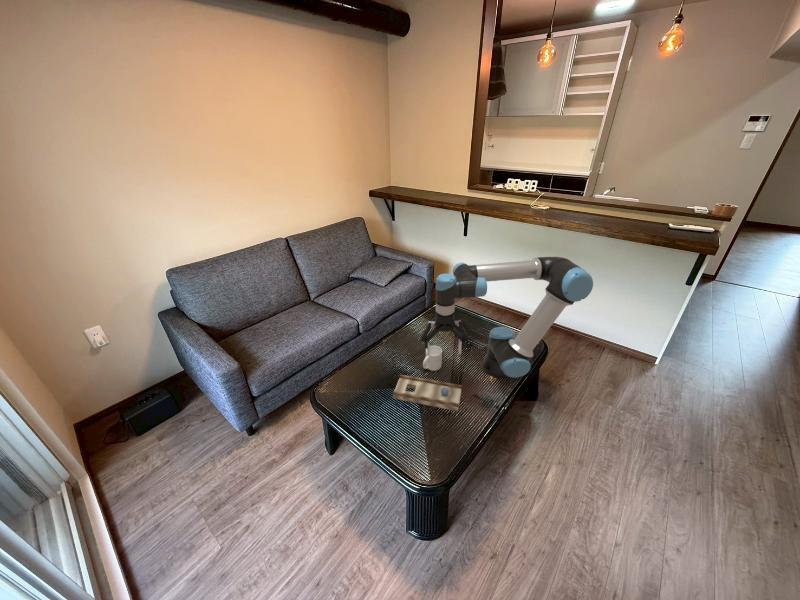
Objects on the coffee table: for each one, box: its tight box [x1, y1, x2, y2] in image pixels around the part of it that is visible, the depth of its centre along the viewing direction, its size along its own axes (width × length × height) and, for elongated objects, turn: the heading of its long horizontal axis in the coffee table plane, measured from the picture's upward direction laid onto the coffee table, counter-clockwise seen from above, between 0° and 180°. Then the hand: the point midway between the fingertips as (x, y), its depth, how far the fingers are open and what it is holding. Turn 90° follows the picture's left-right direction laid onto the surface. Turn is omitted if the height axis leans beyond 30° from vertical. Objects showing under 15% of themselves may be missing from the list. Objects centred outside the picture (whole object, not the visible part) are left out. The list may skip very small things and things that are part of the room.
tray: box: [392, 374, 463, 412], centre depth 141 cm, size 30×12×4 cm, turn 74°
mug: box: [422, 345, 443, 372], centre depth 156 cm, size 12×8×10 cm
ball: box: [441, 387, 449, 395], centre depth 137 cm, size 4×4×4 cm
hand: (444, 352), depth 132 cm, fingers open, 13 cm apart
